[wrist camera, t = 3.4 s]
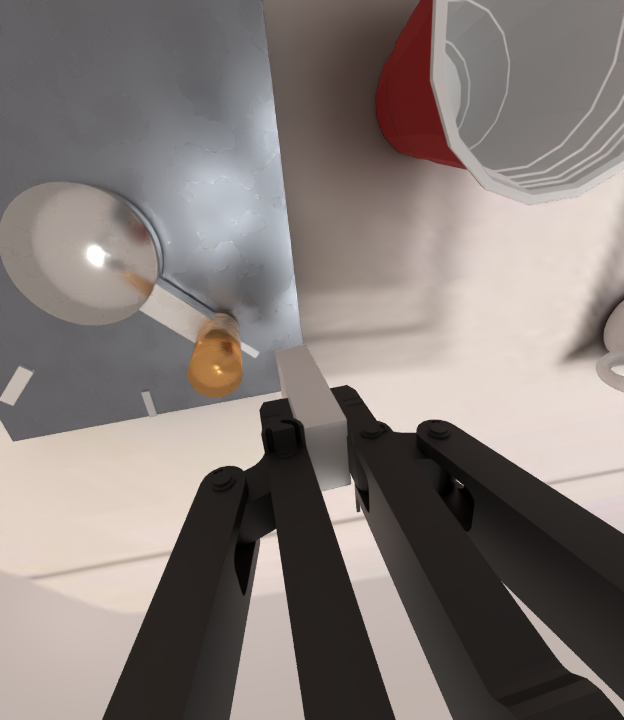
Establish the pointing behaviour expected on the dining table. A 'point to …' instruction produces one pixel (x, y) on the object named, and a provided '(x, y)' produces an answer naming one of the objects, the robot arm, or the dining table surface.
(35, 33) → the panel
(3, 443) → the dining table surface
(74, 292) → the metal measuring spoon
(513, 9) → the plastic cup
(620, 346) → the cup
